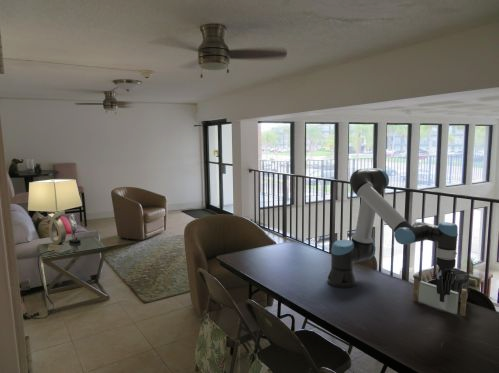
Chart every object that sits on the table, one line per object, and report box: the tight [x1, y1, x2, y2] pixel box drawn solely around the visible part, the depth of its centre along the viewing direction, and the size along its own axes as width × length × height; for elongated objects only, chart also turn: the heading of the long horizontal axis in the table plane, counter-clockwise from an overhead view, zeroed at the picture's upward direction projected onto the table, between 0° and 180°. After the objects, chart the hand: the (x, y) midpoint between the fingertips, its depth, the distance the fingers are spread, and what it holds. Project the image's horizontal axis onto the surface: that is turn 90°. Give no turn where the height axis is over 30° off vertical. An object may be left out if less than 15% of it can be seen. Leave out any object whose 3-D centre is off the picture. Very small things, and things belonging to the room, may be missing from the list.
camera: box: [451, 267, 471, 303], centre depth 172 cm, size 10×11×15 cm
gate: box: [418, 280, 459, 315], centre depth 164 cm, size 17×2×10 cm, turn 37°
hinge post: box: [412, 274, 421, 303], centre depth 172 cm, size 3×3×13 cm
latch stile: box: [459, 289, 468, 317], centre depth 158 cm, size 2×2×12 cm
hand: (442, 307), depth 158 cm, fingers closed
